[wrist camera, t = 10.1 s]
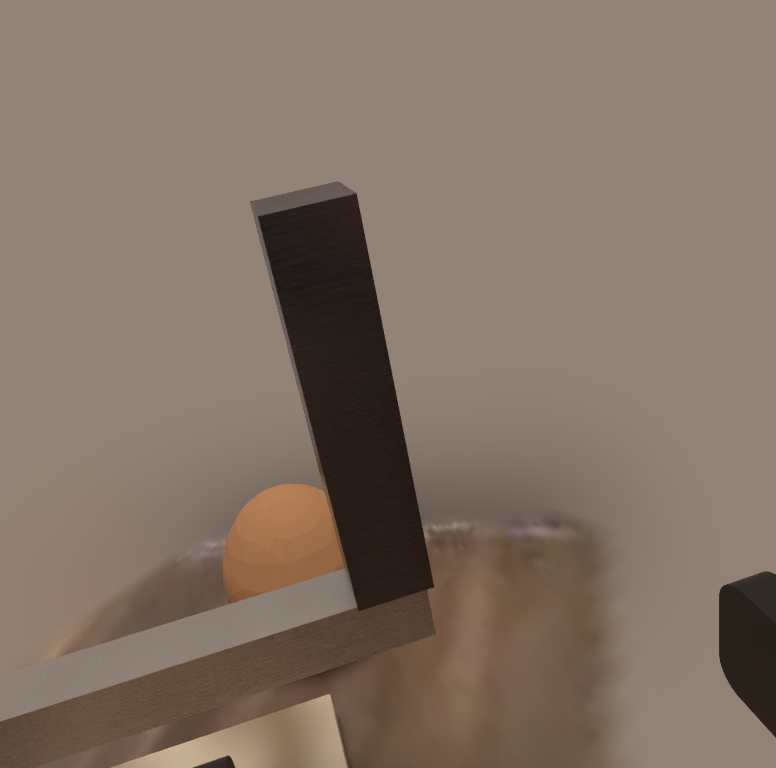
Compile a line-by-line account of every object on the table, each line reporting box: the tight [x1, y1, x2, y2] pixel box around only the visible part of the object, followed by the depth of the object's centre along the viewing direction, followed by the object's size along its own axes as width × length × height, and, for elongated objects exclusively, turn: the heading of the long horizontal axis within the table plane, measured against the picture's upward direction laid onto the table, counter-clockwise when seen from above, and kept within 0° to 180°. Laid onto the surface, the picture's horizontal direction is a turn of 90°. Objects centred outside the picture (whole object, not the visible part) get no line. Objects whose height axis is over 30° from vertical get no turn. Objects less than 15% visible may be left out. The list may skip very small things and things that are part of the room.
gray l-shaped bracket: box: [0, 182, 436, 768], centre depth 20 cm, size 19×2×14 cm, turn 104°
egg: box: [223, 484, 344, 604], centre depth 37 cm, size 7×7×8 cm
